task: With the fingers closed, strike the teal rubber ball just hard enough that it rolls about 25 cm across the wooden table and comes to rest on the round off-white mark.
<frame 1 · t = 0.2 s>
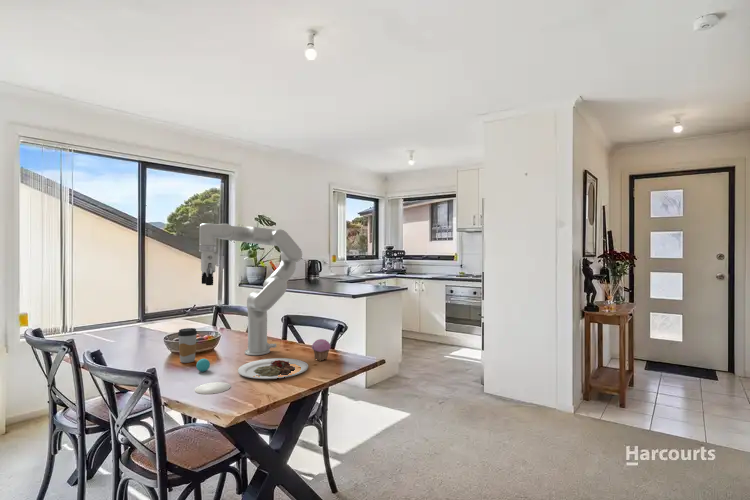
hand: (207, 284, 203), 36 cm above the table, tool pointing down, fingers open, 9 cm apart
plated food: (273, 372, 184), on the table
coffee cup: (187, 361, 199), on the table
ball: (203, 365, 183), on the table
cupcake: (321, 360, 202), on the table
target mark: (212, 388, 161), on the table
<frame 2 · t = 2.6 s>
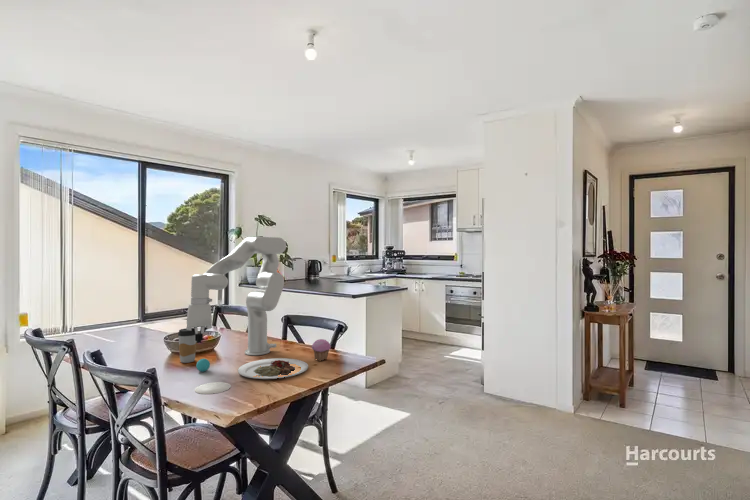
hand: (198, 342, 190), 11 cm above the table, tool pointing down, fingers closed
nothing on the table moved.
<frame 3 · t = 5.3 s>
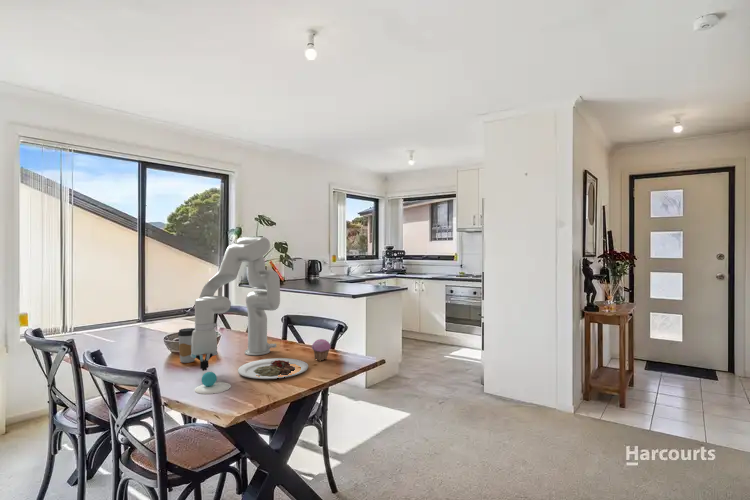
hand: (204, 369, 180), 2 cm above the table, tool pointing down, fingers closed
ball: (209, 379, 164), on the table
everything else where it was.
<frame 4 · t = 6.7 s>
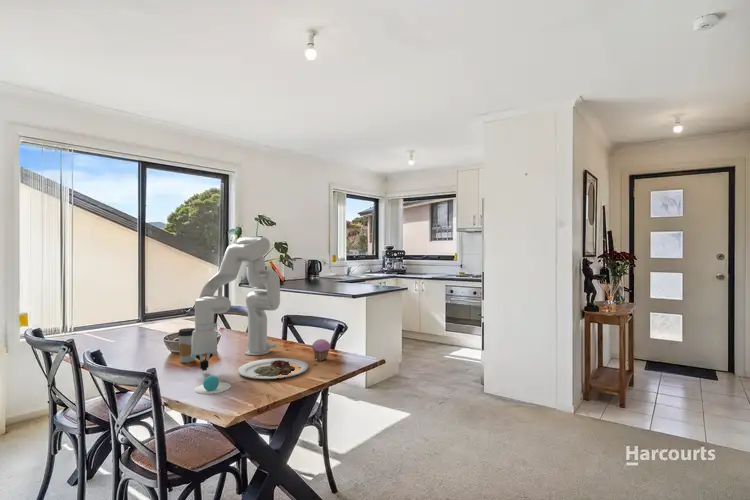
hand: (204, 369, 180), 2 cm above the table, tool pointing down, fingers closed
ball: (210, 383, 159), on the table
everything else where it was.
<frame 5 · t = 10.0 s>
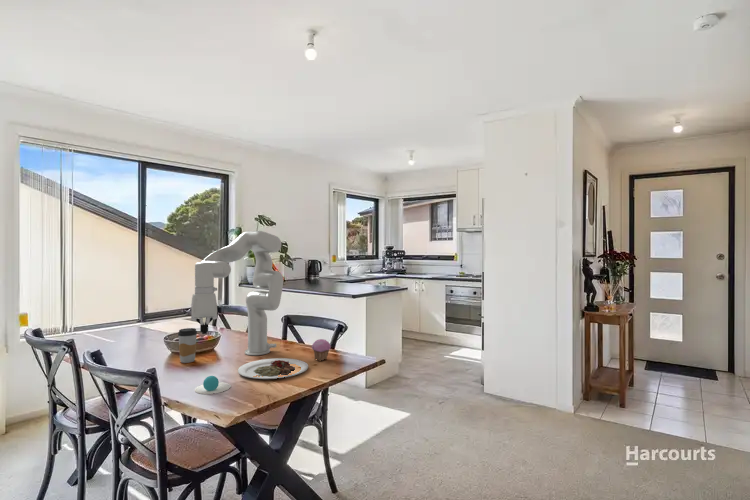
hand: (204, 333, 180), 17 cm above the table, tool pointing down, fingers closed
nothing on the table moved.
at the end: ball 2.6 cm from the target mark (horizontally); ball at rest at the end (0.0 cm/s); ball moved 27.4 cm from its start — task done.
